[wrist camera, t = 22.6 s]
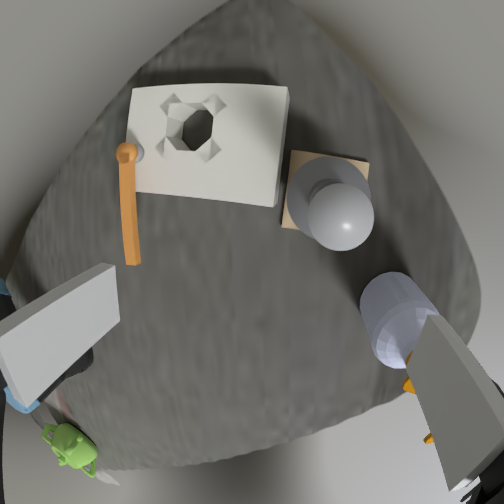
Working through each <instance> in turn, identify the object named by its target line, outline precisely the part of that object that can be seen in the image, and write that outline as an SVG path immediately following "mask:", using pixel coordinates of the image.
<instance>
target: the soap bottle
mask: <svg viewBox="0 0 504 504" xmlns="http://www.w3.org/2000/svg"><path fill="white" fill-rule="evenodd" d="M360 312H361V315H362V318H363V321H364V324H365V327H366V330H367V333H368V336H369V339H370V342H371V346H372V349H373V352H374V355H375V356H376V357H377V358H378V359H379V360H380V361H381V362H382V363H384V364H385V365H387V366H390V367H392V368H406V366H407V364H408V361H409V359H410V357H411V355H412V352H413V350H414V348H415V345H416V343H417V341H418V338H419V336H420V333H421V331H422V328H423V326H424V323H425V320H426V317H427V315H428V314H432V315H440V314H439V313H438V311H437V310H436V308H435V307H434V305H433V304H432V303H431V302H430V301H429V299H428V298H427V297H426V296H425V295H424V293H423V292H422V291H421V290H420V289H419V287H418V286H417V285H416V284H415V283H414V282H413V280H412V279H411V278H410V277H408V276H407V275H405V274H403V273H400V272H388V273H384V274H380V275H379V276H377V277H376V278H374V279H373V280H371V281H370V283H369V284H368V285H367V286H366V287H365V289H364V291H363V293H362V296H361V298H360ZM403 389H404V390H405V391H407V392H410V393H414V394H416V392H415V390H414V387H413V385H412V383H411V380H410V378H409V376H408V377H407V379H406V380H405V381H404V382H403ZM424 442H425V443H426V444H428V443H432V442H434V440H433V437H432V435H431V433H430V434H429V435H427V436H426V437H425V438H424Z"/></svg>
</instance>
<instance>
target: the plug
mask: <svg viewBox="0 0 504 504" xmlns="http://www.w3.org/2000/svg"><path fill="white" fill-rule="evenodd" d="M286 201H287V208H288V212H289V214H290V217H291V219H292V220H293V222H294V223H295V225H296V226H297V227H298V228H299V229H300V230H301V231H302V232H303V233H304V234H306V235H307V236H309V237H311V238H313V239H316V240H317V241H318V242H319V243H320V244H321V245H323V246H324V247H326V248H329V249H332V250H336V251H346V250H350V249H353V248H355V247H357V246H359V245H360V244H362V243H363V242H364V241H365V240H366V239H367V237H368V236H369V234H370V232H371V230H372V227H373V223H374V211H373V207H372V204H371V193H370V188H369V185H368V183H367V180H366V178H365V177H364V175H363V174H362V173H361V171H360V170H359V169H358V168H357V167H355V166H354V165H353V164H351V163H350V162H348V161H346V160H344V159H341V158H337V157H328V156H327V157H319V158H315V159H313V160H310V161H308V162H307V163H305V164H304V165H302V166H301V167H300V168H299V169H298V170H297V171H296V172H295V174H294V175H293V177H292V178H291V180H290V183H289V186H288V189H287V200H286Z"/></svg>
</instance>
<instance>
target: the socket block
mask: <svg viewBox="0 0 504 504" xmlns="http://www.w3.org/2000/svg"><path fill="white" fill-rule="evenodd" d="M289 100H290V97H289V92H288V88H287V87H283V86H271V85H256V84H230V83H204V84H178V85H163V86H152V87H142V88H134V89H133V90H132V96H131V103H130V110H129V117H128V125H127V134H126V142H127V143H133V144H135V145H136V146H137V148H138V156H137V158H136V160H135V190H136V192H146V193H157V194H168V195H178V196H187V197H197V198H205V199H214V200H222V201H230V202H238V203H246V204H253V205H260V206H268V207H274V206H275V204H276V203H277V200H278V193H279V185H280V177H281V169H282V160H283V152H284V144H285V135H286V127H287V118H288V109H289ZM197 110H208V111H209V112H210V113H211V114H212V115H213V117H214V119H213V127H212V135H211V138H210V139H209V140H208V141H206V142H205V143H204V144H203V145H202V146H201V147H200V148H199V149H197V150H196V151H191V150H190V149H189V148H188V146H187V145H186V144H185V143H184V141H183V140H182V133H183V124H184V121H185V120H187V119H188V118H189V117H190V116H191V115H192V114H193V113H194V112H195V111H197Z"/></svg>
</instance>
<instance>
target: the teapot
mask: <svg viewBox="0 0 504 504" xmlns="http://www.w3.org/2000/svg"><path fill="white" fill-rule="evenodd" d="M49 431H52V432H54V434H53V438H52V440H51V439H49V438H48V437H46V436H47V434H48V432H49ZM41 438H43V439H44V440H45V441H46V442H48V443H49V444H50V445H51V448H52V450H53V452H54V453H55V454H56V455H58V456H59V457H58V458H57V459H58V460H59V461H60V462H59V465H60V466H63V465H66V463H67V464H68V465H70V466H71V467H73V468H75V469H78V468H81V470H82V471H83V472H85V473H86V474H87V475H88V476H89V477H94V476H95V474H96V468H95V461H94V459H95V458H96V456H97V447H96V446H95V445H94V443H93V442H92V441H90V440H89V439H88V438H87V437H86V436H85V435H84V434H83V433H81V432H80V431H79V430H78V429H76V428H75V427H73V426H72V425H70V424H68V423H63V424H60V425H59V426H57V425H52V424H48V423H46V425H45V428H44V430H43V432H42V434H41ZM89 463H91V470H90V472H88V471H87V470H85V469H84V468H83V466H86V465H88V464H89Z"/></svg>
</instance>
